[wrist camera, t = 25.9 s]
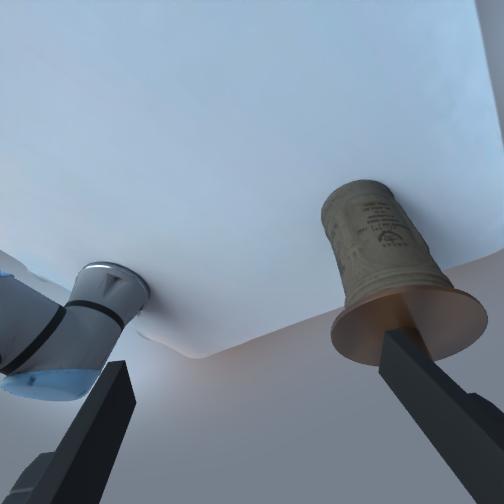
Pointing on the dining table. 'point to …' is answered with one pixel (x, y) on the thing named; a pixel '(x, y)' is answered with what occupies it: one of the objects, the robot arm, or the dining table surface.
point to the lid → (410, 322)
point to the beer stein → (376, 242)
